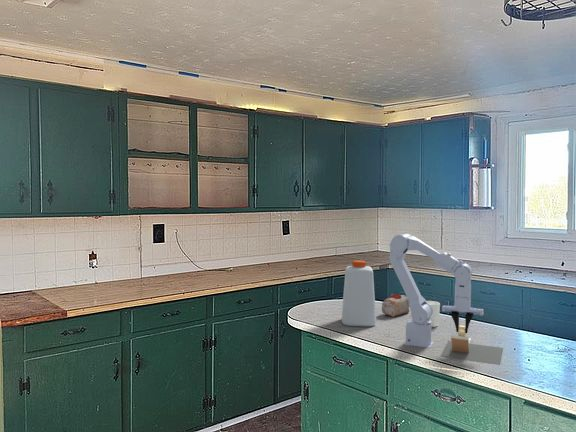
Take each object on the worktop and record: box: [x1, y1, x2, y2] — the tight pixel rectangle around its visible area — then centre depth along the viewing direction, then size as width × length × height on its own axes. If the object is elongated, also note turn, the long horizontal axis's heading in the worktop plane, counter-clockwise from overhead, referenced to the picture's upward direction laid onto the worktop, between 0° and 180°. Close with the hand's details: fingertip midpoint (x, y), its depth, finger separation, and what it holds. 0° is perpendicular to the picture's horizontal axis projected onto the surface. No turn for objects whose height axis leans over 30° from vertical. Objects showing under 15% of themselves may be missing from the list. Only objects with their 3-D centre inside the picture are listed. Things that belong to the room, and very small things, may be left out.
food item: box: [381, 293, 410, 318], centre depth 244 cm, size 14×8×10 cm, turn 133°
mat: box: [440, 340, 504, 366], centre depth 188 cm, size 20×20×1 cm
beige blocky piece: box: [457, 324, 472, 344], centre depth 191 cm, size 6×6×6 cm
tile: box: [450, 334, 470, 353], centre depth 187 cm, size 6×1×7 cm
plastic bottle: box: [341, 259, 377, 328], centre depth 229 cm, size 15×15×28 cm
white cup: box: [426, 300, 441, 328], centre depth 226 cm, size 8×8×10 cm
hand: (462, 332), depth 191 cm, fingers closed on beige blocky piece, 2 cm apart
